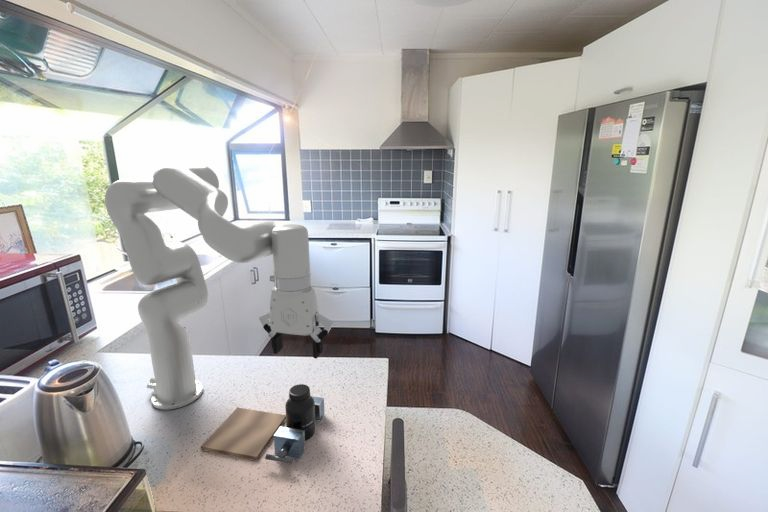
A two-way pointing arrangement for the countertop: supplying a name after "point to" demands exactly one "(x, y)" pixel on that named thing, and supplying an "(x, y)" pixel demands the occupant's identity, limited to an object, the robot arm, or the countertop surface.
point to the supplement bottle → (301, 410)
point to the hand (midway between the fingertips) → (297, 353)
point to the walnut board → (244, 433)
